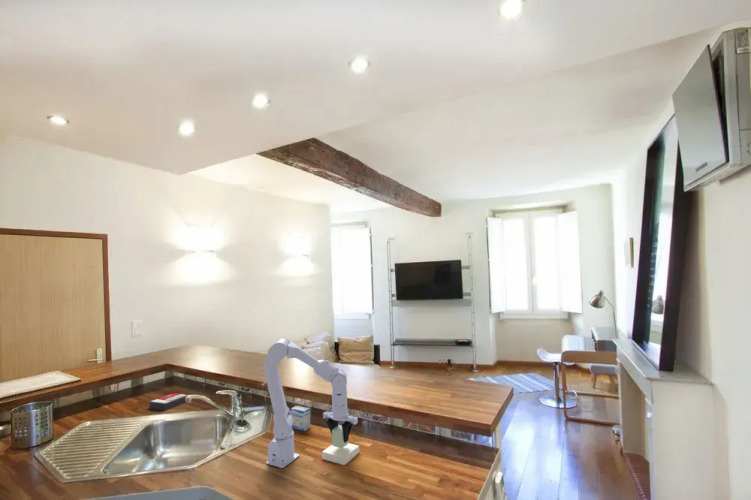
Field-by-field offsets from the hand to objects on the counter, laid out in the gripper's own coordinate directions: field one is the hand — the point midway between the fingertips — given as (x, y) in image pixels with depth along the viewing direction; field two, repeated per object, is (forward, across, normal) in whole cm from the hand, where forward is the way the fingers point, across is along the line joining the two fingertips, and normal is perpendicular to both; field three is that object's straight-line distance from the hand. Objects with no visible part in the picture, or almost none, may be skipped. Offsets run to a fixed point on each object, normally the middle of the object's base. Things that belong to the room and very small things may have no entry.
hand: (340, 440), depth 138 cm
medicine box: (+6, +30, -13) cm, 33 cm away
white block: (+6, 0, 0) cm, 6 cm away
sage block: (+2, 0, 0) cm, 2 cm away
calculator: (+6, +116, -7) cm, 116 cm away
